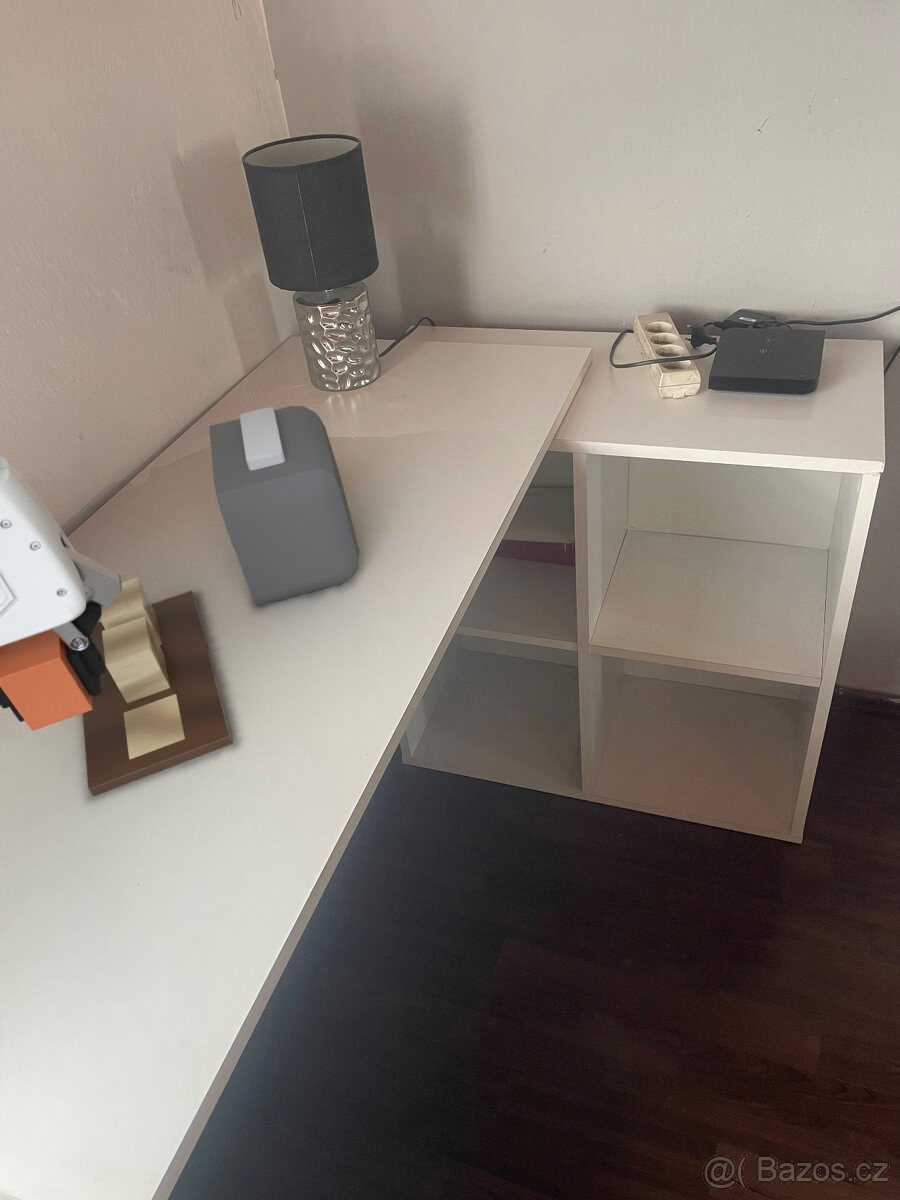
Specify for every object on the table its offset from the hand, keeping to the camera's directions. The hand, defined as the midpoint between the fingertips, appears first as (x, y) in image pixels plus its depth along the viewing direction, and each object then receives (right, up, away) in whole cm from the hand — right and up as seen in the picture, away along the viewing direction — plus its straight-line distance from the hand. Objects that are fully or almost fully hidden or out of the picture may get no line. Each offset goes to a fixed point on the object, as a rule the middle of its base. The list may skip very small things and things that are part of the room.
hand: (60, 692), depth 59 cm
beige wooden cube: (-4, +3, +27) cm, 27 cm away
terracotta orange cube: (0, 0, 0) cm, 0 cm away
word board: (-2, -2, +22) cm, 23 cm away
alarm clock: (+11, +11, +35) cm, 38 cm away
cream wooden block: (-2, -1, +22) cm, 22 cm away
